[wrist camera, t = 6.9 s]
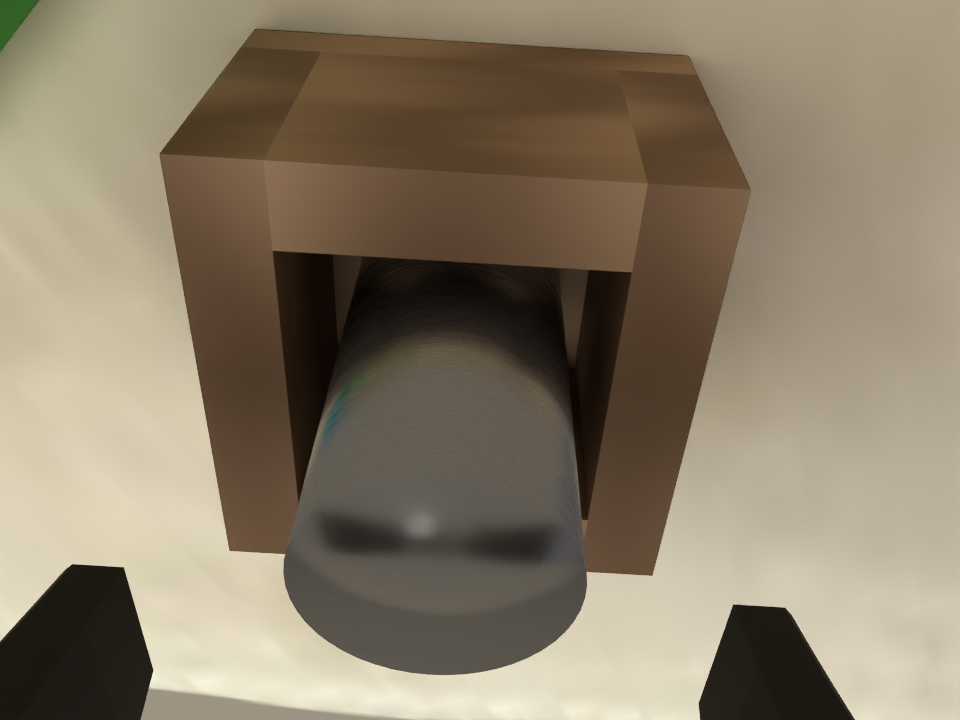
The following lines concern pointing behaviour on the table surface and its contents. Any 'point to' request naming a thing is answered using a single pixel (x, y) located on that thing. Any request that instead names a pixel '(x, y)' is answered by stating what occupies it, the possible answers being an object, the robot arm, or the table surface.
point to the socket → (453, 244)
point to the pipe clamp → (13, 17)
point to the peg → (443, 473)
